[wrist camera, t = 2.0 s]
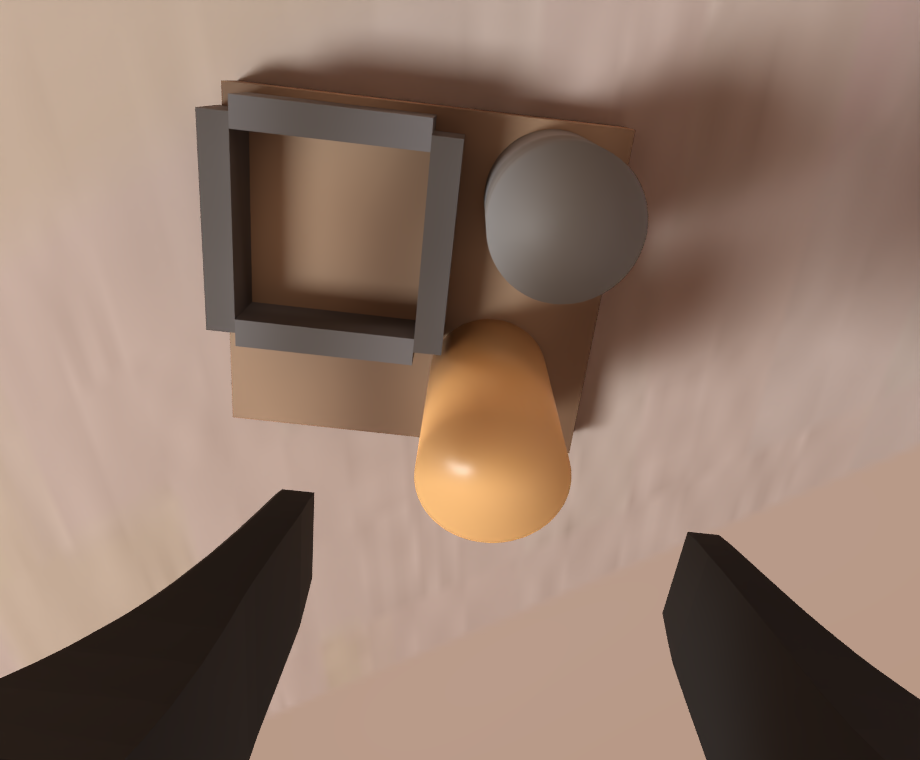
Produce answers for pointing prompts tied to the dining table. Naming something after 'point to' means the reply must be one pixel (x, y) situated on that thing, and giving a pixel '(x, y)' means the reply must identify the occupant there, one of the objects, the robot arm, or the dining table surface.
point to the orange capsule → (491, 436)
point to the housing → (401, 245)
